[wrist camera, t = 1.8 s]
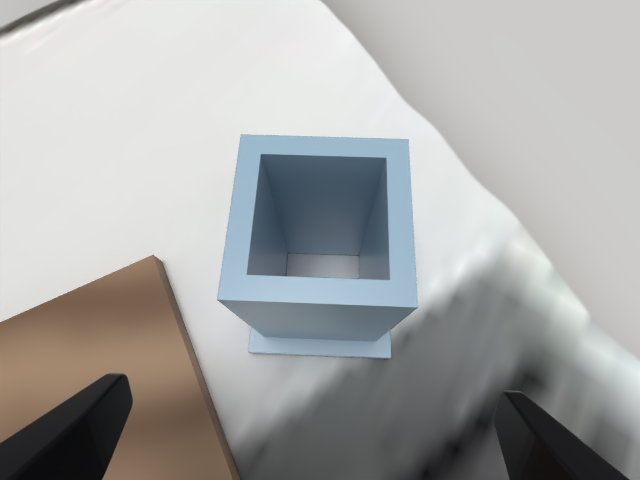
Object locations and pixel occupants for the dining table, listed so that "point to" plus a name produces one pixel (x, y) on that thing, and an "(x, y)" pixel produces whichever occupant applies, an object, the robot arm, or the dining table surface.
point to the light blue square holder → (320, 243)
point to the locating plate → (118, 357)
